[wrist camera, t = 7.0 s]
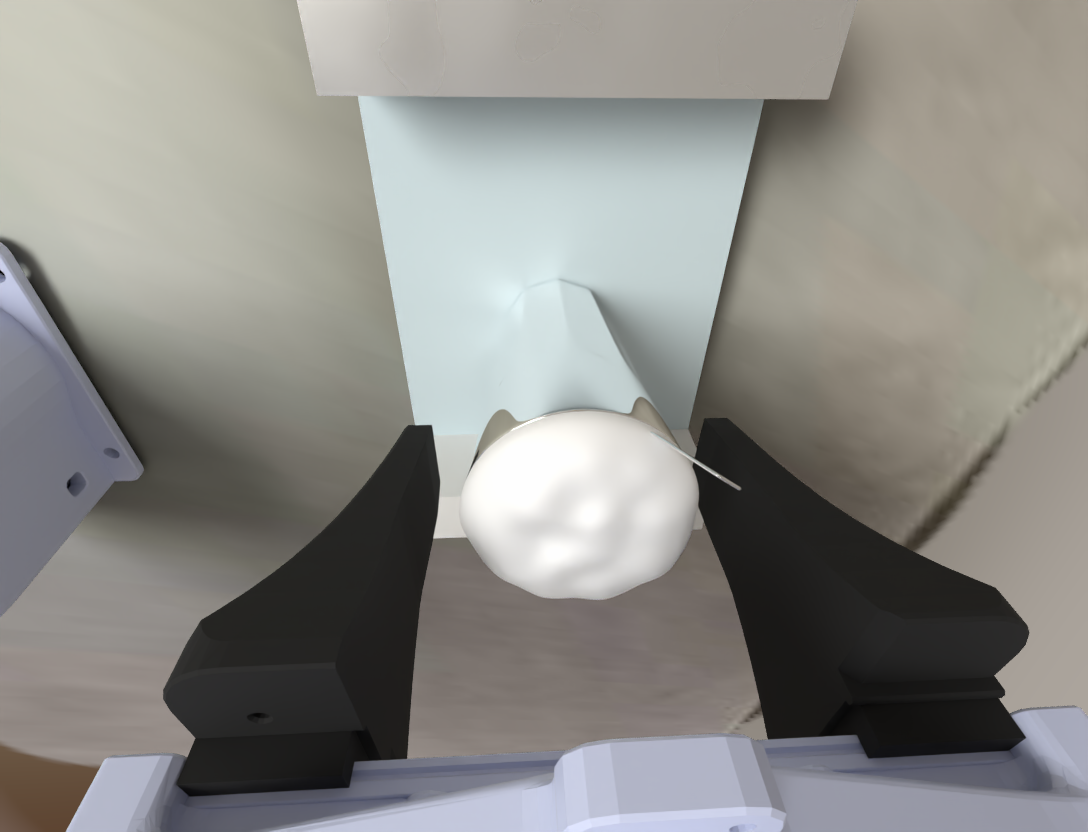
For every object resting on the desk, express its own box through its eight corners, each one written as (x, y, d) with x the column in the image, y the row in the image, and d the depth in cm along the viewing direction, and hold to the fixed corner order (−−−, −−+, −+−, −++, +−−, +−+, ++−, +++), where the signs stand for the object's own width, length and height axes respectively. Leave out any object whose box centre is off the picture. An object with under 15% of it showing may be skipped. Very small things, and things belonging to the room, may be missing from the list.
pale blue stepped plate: (669, 457, 22) (698, 538, 19) (429, 463, 22) (414, 548, 18) (819, -249, 11) (967, -370, 7) (309, -270, 10) (208, -409, 7)
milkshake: (675, 292, 16) (834, 547, 8) (568, 410, 19) (606, 697, 10) (558, 200, 15) (607, 405, 6) (456, 343, 17) (398, 623, 9)
